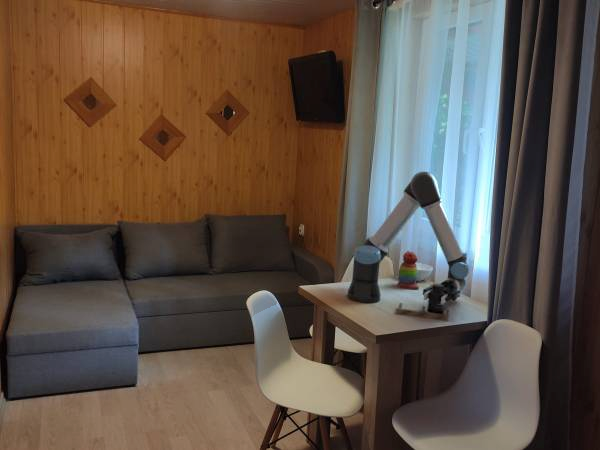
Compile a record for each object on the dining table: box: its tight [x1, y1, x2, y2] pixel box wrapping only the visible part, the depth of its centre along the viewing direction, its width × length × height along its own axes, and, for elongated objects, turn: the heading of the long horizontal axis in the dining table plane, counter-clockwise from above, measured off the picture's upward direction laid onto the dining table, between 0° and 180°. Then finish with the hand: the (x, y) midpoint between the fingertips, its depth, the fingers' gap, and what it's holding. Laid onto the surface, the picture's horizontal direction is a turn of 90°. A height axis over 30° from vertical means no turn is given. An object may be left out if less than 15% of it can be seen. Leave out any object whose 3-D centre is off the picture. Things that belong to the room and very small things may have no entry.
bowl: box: [415, 262, 434, 282], centre depth 311 cm, size 16×16×7 cm
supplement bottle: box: [426, 283, 446, 314], centre depth 249 cm, size 7×7×12 cm
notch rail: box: [396, 302, 450, 321], centre depth 251 cm, size 21×10×2 cm, turn 75°
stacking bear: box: [397, 250, 420, 291], centre depth 294 cm, size 11×10×18 cm
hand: (433, 298), depth 245 cm, fingers closed on supplement bottle, 7 cm apart
